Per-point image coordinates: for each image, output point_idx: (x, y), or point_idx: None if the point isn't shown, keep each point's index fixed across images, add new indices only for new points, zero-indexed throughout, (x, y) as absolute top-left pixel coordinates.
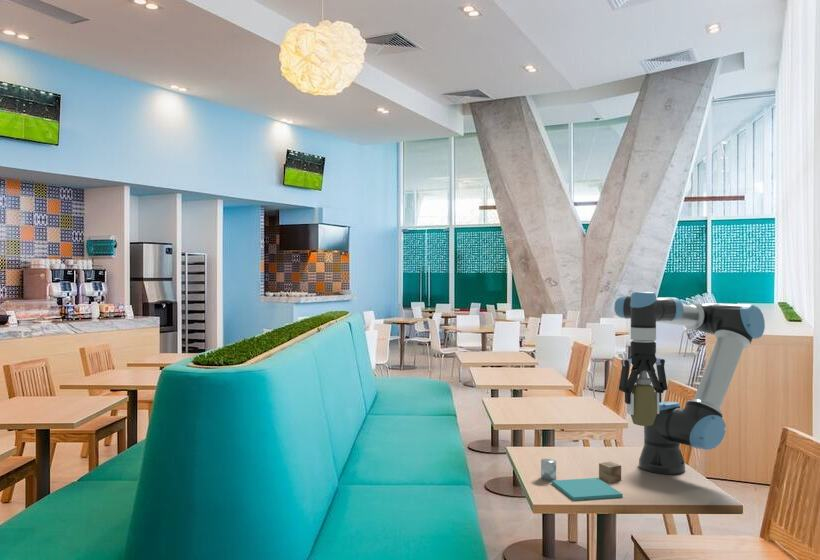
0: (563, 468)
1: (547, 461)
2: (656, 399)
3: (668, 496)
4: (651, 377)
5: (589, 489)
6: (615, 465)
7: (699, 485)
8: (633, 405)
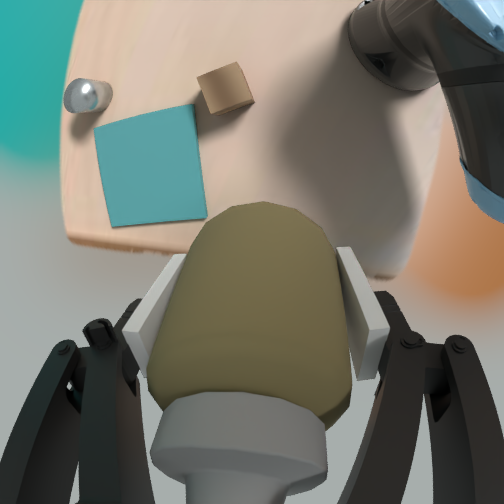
0: (152, 21)
1: (73, 100)
2: (349, 340)
3: None
4: (348, 485)
5: (147, 185)
6: (234, 98)
7: (413, 170)
8: None
